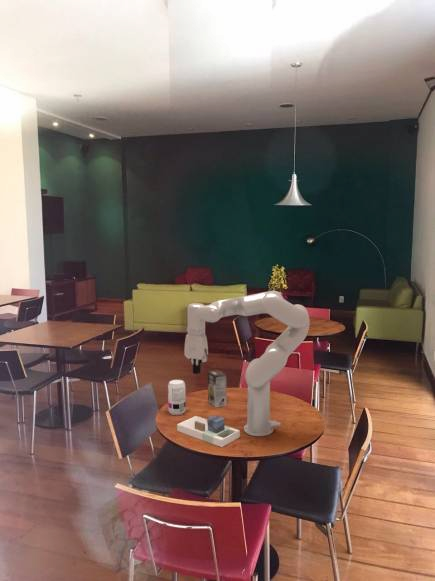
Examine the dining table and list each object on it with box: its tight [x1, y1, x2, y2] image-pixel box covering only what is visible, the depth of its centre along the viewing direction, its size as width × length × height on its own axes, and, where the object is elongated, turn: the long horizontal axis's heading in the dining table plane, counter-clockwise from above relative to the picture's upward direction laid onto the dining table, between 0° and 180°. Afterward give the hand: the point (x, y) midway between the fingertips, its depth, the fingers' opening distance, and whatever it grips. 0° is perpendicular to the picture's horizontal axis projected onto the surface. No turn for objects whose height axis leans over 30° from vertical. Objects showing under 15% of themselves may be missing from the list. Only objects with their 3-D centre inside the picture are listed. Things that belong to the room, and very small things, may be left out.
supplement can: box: [167, 379, 187, 416], centre depth 224 cm, size 8×8×15 cm
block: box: [208, 415, 226, 434], centre depth 196 cm, size 5×5×5 cm
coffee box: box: [207, 369, 227, 408], centre depth 234 cm, size 9×6×16 cm
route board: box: [176, 414, 241, 448], centre depth 200 cm, size 25×12×6 cm, turn 50°
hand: (196, 373), depth 205 cm, fingers closed
